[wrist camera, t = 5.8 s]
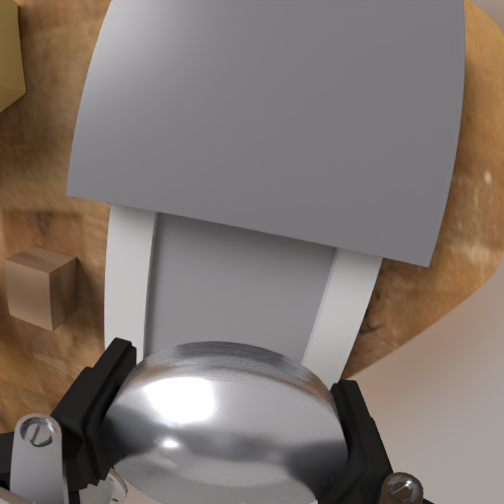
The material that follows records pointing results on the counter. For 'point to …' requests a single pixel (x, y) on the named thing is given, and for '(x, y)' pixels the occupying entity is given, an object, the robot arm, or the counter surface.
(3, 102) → the cheese
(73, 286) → the walnut block
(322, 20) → the housing
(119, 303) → the tray
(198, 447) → the disc
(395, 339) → the counter surface
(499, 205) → the counter surface
